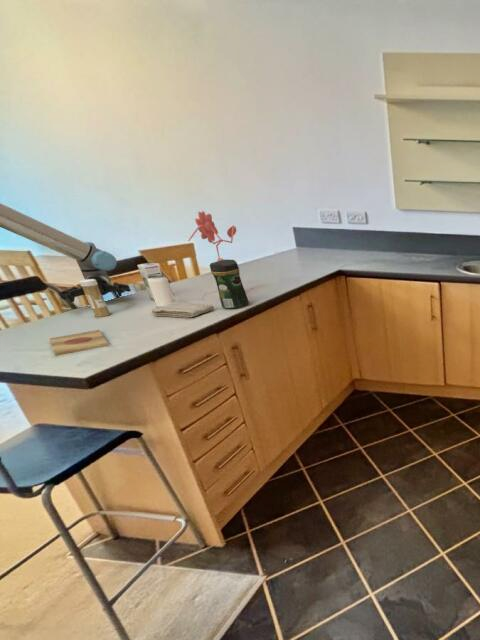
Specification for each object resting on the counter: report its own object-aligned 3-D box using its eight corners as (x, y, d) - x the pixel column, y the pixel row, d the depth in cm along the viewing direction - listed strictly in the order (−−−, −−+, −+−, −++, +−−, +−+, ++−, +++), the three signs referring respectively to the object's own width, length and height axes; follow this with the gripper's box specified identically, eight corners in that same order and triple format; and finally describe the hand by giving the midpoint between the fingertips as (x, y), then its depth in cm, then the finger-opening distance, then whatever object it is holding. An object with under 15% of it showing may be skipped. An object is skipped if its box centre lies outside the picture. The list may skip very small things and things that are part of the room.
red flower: (256, 288, 199) (236, 209, 183) (224, 302, 176) (198, 214, 160) (224, 287, 198) (200, 208, 183) (188, 302, 175) (157, 213, 159)
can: (176, 302, 175) (165, 273, 169) (177, 306, 170) (166, 276, 165) (156, 305, 171) (145, 275, 166) (157, 308, 167) (146, 278, 161)
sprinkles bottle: (110, 316, 157) (94, 280, 151) (93, 318, 155) (77, 282, 149) (111, 313, 161) (96, 278, 155) (95, 314, 158) (79, 279, 152)
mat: (50, 340, 134) (49, 338, 133) (100, 331, 142) (98, 329, 141) (55, 355, 123) (54, 353, 123) (108, 345, 131) (107, 342, 131)
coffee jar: (235, 302, 176) (222, 257, 168) (252, 303, 175) (240, 258, 167) (218, 309, 167) (203, 262, 159) (236, 310, 167) (222, 263, 158)
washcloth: (175, 307, 168) (172, 300, 167) (216, 309, 166) (214, 302, 165) (149, 316, 158) (146, 308, 156) (193, 318, 156) (190, 310, 154)
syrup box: (171, 297, 181) (159, 263, 175) (155, 300, 177) (142, 266, 170) (165, 295, 184) (153, 262, 177) (149, 298, 179) (136, 264, 173)
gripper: (139, 289, 180) (141, 300, 166) (59, 298, 166) (53, 311, 151) (132, 272, 177) (134, 281, 163) (50, 280, 162) (43, 290, 148)
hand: (95, 295), depth 157 cm, fingers open, 13 cm apart
